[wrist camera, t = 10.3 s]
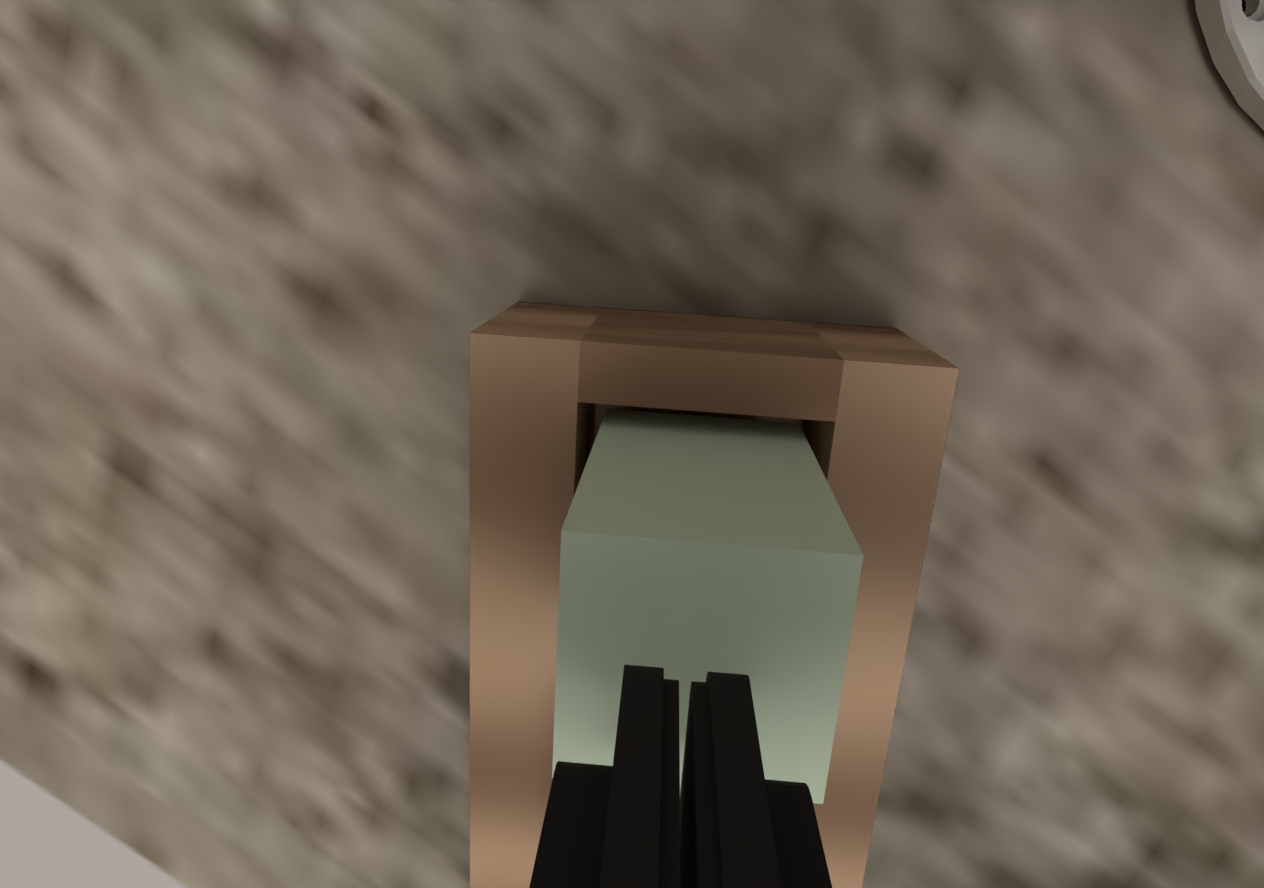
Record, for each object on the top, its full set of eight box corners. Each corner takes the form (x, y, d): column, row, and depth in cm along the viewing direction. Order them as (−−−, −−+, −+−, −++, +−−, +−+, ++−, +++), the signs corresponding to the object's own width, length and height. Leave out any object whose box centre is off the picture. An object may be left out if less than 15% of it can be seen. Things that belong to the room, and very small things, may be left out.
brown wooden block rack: (518, 301, 21) (469, 333, 17) (896, 328, 21) (959, 368, 16) (507, 911, 28) (470, 1061, 23) (797, 941, 27) (821, 1101, 22)
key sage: (606, 408, 18) (561, 530, 12) (798, 423, 18) (863, 555, 12) (597, 580, 20) (552, 778, 13) (776, 596, 20) (823, 804, 13)
